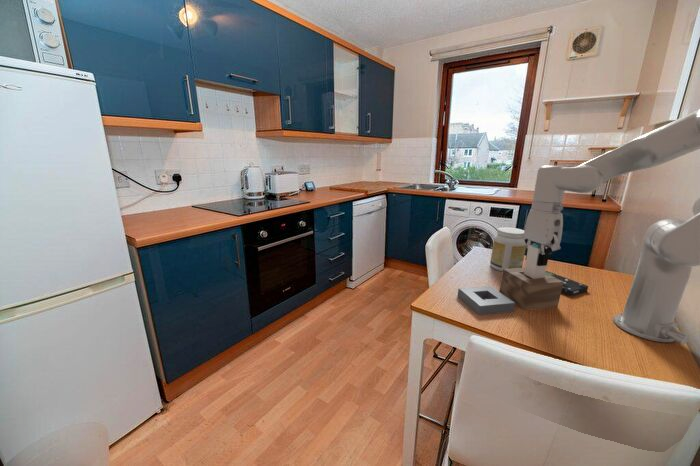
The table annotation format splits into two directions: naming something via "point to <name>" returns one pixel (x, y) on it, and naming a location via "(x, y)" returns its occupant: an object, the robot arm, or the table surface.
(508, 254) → the supplement tub
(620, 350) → the table surface
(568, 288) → the disk drive
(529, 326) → the table surface
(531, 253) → the plug peg
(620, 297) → the table surface
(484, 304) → the lower socket plate
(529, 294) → the upper socket tower
